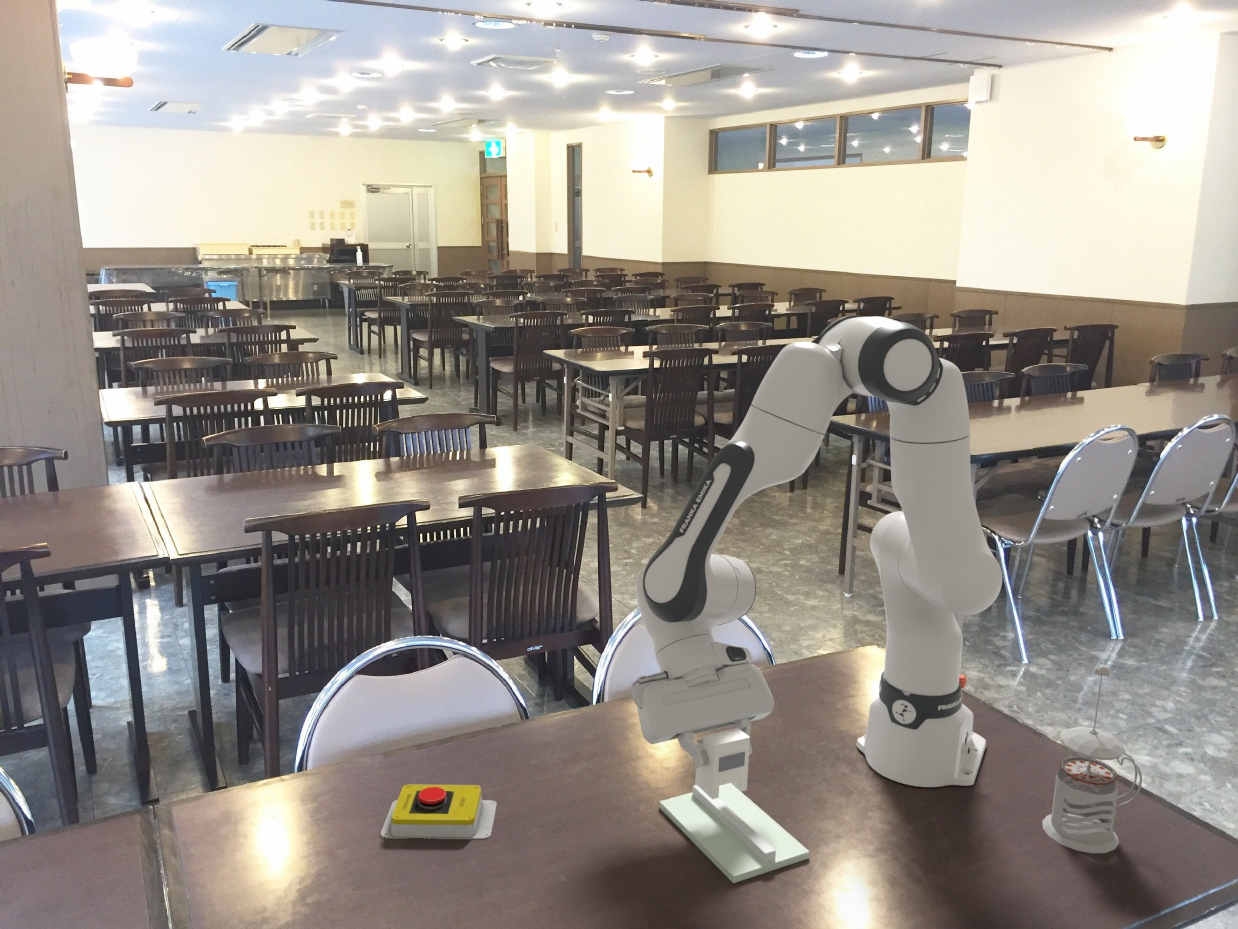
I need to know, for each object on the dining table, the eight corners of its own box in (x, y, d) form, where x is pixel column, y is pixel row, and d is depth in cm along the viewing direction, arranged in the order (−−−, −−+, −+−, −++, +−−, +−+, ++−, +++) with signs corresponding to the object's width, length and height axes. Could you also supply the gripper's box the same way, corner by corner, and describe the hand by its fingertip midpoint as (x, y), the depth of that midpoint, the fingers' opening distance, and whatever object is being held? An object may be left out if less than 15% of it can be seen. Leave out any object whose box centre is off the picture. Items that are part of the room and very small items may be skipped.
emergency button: (392, 775, 141) (497, 776, 142) (393, 803, 142) (497, 804, 143) (377, 812, 132) (489, 813, 133) (379, 841, 133) (490, 842, 134)
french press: (1033, 809, 143) (1053, 648, 137) (1118, 817, 141) (1142, 654, 136) (1053, 849, 134) (1075, 678, 128) (1144, 858, 132) (1170, 685, 126)
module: (695, 783, 138) (697, 730, 136) (728, 774, 140) (731, 722, 139) (713, 800, 134) (716, 746, 132) (747, 790, 136) (750, 737, 135)
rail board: (659, 807, 142) (659, 792, 141) (729, 788, 147) (730, 773, 146) (733, 883, 125) (734, 866, 125) (809, 858, 131) (810, 842, 130)
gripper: (634, 670, 135) (668, 769, 129) (758, 646, 144) (795, 737, 138) (619, 687, 140) (650, 783, 133) (740, 663, 149) (774, 752, 143)
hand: (725, 760), depth 136 cm, fingers closed on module, 6 cm apart
